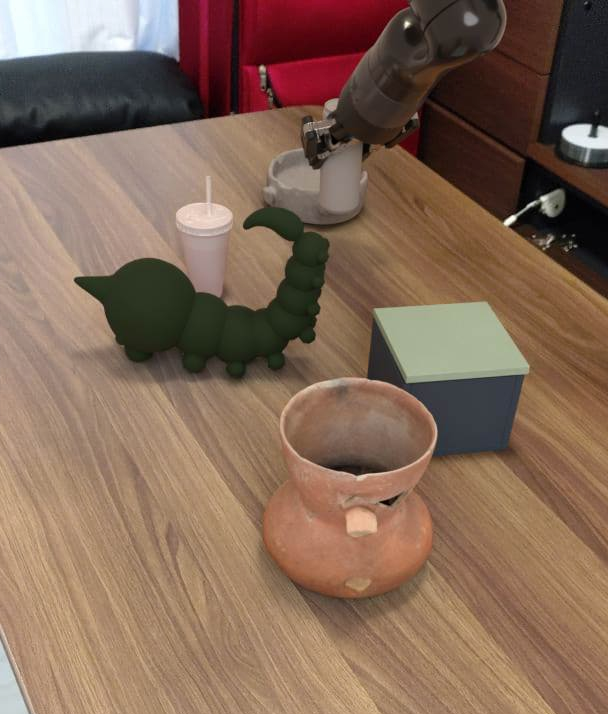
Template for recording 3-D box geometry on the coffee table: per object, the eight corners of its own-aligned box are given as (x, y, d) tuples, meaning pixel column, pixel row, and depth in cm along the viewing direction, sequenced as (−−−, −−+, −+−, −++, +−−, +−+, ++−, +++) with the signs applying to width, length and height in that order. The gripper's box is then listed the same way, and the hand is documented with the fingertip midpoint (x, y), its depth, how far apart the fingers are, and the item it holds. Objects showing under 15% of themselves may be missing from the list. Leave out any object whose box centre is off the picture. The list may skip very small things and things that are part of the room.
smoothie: (231, 308, 112) (230, 191, 102) (176, 306, 112) (169, 188, 102) (235, 280, 117) (234, 165, 107) (181, 277, 116) (176, 162, 107)
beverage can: (345, 219, 116) (352, 117, 108) (311, 208, 118) (315, 107, 109) (365, 204, 119) (373, 104, 111) (331, 194, 121) (337, 94, 112)
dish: (303, 173, 139) (305, 138, 135) (385, 202, 133) (389, 166, 130) (240, 208, 130) (240, 171, 127) (325, 240, 125) (327, 203, 121)
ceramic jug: (439, 629, 79) (467, 498, 69) (260, 626, 78) (262, 494, 68) (417, 482, 91) (438, 354, 82) (262, 479, 91) (265, 350, 81)
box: (507, 449, 96) (525, 375, 89) (392, 460, 94) (403, 384, 88) (471, 381, 104) (485, 308, 97) (365, 389, 102) (373, 316, 96)
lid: (528, 374, 89) (530, 366, 88) (405, 383, 87) (406, 375, 86) (485, 308, 97) (486, 301, 97) (373, 315, 96) (373, 308, 95)
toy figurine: (310, 356, 109) (85, 324, 107) (336, 194, 95) (80, 156, 94) (306, 406, 102) (66, 374, 100) (334, 240, 89) (58, 199, 87)
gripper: (329, 134, 98) (285, 197, 114) (456, 119, 102) (396, 182, 118) (312, 60, 98) (271, 134, 114) (440, 48, 102) (382, 121, 118)
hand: (335, 158), depth 116 cm, fingers closed on beverage can, 5 cm apart
